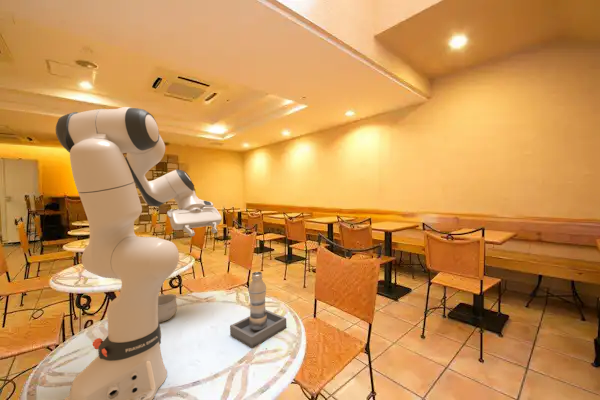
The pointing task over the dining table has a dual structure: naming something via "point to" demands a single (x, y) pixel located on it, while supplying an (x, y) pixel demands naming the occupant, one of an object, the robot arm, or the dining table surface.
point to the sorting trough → (253, 337)
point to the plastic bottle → (257, 302)
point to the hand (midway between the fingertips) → (204, 233)
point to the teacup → (166, 307)
